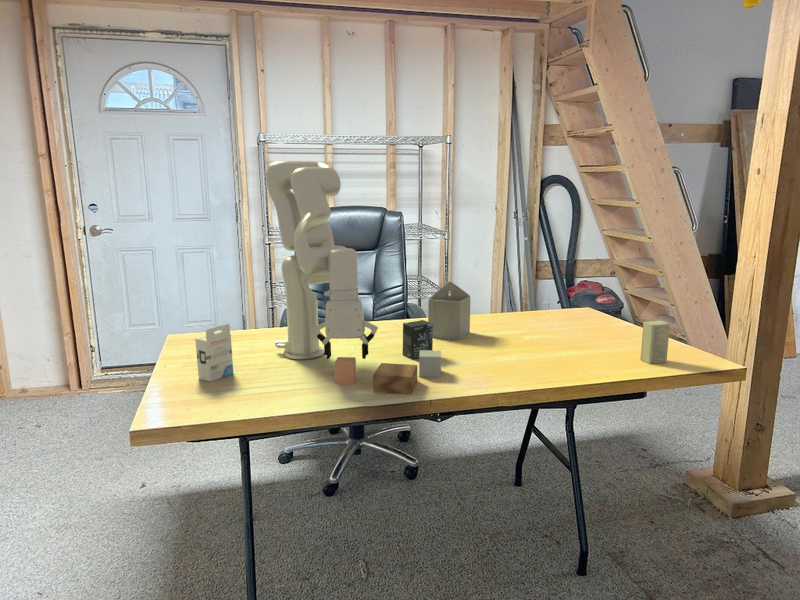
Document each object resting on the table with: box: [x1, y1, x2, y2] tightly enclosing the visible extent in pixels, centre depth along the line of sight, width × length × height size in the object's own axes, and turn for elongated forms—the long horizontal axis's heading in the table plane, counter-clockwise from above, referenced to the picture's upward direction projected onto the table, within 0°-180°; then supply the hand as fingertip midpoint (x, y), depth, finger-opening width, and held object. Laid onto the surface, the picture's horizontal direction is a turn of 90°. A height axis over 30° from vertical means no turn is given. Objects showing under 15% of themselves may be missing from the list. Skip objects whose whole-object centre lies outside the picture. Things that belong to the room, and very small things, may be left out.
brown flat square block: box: [372, 362, 418, 395], centre depth 149 cm, size 10×10×5 cm
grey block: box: [418, 350, 442, 378], centre depth 159 cm, size 6×6×6 cm
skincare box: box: [640, 319, 671, 365], centre depth 168 cm, size 6×4×12 cm
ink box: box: [194, 323, 234, 383], centre depth 157 cm, size 9×5×15 cm, turn 148°
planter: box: [427, 280, 471, 341], centre depth 195 cm, size 16×8×19 cm, turn 111°
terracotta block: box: [334, 356, 357, 385], centre depth 154 cm, size 5×5×6 cm
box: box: [402, 319, 434, 360], centre depth 175 cm, size 8×6×11 cm
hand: (346, 357), depth 152 cm, fingers open, 9 cm apart
